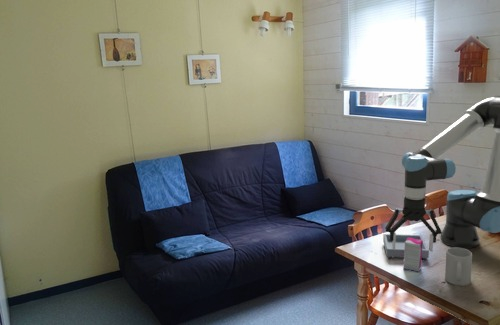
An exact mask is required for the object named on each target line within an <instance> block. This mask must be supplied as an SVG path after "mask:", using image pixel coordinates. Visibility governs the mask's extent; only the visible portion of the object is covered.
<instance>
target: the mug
mask: <svg viewBox="0 0 500 325" xmlns="http://www.w3.org/2000/svg"><path fill="white" fill-rule="evenodd" d="M472 263H473V253H472V252H471V251H470V250H469V249H468V248H460V247H454V246H453V247H450V248H447V249H446V253H445V272H444V279H445V280H446V282H448V283H449V284H452V285H456V286H468V285H470V284H471V282H472V267H473V265H472Z"/></svg>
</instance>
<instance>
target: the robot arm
mask: <svg viewBox="0 0 500 325" xmlns="http://www.w3.org/2000/svg"><path fill="white" fill-rule="evenodd" d="M490 125H493V127H492V129H493V131H494V132H495V137H494V139H493V144H492V148H491V152H490V155H489V158H488V159H489V160H488V164H487V167H486V169H485V170H486V172H485V175H484V178H483V181H482V182H483V183H482V185H481V190H480V191H479V192H477V190H472V189H471V190H470V189H457V190H451V191H449V192H448V193H447V196H446V197H447V198H446V208H445V210H446V211H445V212H446V214H445V224H444V226H443V229H442V230H441V227H440V225H439V223H438V221H437V219H436V218H435V213H434V209H432V208H429V209H426V198H425V197H426V194H427V193H426V191H427V189H426V188H427V181H437V180H446V179H450V178H453V176H455V174H456V169H457V168H456V165H455V162H454V161H453V160H452V159H450V158H441V157H442V156H444V155H445V154H446V153H447V152H449V151H450V150H451V149H452V148H454V147H455V146H457V145H458V144H460V143H461V141H463V140H465V138H467V137H468V136H470V135H471V134H473V133H474V132H475V131H476V130H482V129H483V128H485V127H486V126H490ZM401 164H402V167H403V168H404V189H403V190H404V193H403V196H404V197H403V208H398V207H395V208H394V213H393V214H392V215H391V218H389V220H388V222H387V224H386V226H385V228H384V229H385V232H387V233H389V234H390V240H391V241H393V243H392V248H393V250H395V241H396V231H397V230H398V229H399V228H400V227H402V226H403V225H404V223H406V222H407V221H409V222H420V221H421V223H423V224H424V225H425V227H427V229H428V231H430V233H429V241H428V242H429V243H428V250H429V253H430V252H431V253H432V252H433V250H434V247H433V246H434V244H436V243H437V237H438V235H440V241H441V242H442V243H443V244H445V245H448V246H450V247H453V248H454V247H456V248H463V249H469V248H475V247H477V246H478V245H479V244H480V237H479V234H478V231H477V228H478V229H480V230H481V231H484V232H485V231H486V232H488V233H490V234H491V233H492V234H496V233H500V95H494V96H489V97H487V98H485V99H482V100H480V101H478V102H476V103H475V104H473V105H472V106H471V107H469V108H468V109H467V110H465V111H464V112H463V116H461V117H460V118H459V119H458V120H456V121H455V122H453V123H452V124H450V126H448V127H447V128H446V129H444V130H443V131H441V132H440V133H439V134H437V136H435V137H434V138H433V139H431V140H430V141H428V142H427V143H426V144H425V145H423V146H421V148H419V149H418V150H416V151H415V152H414V151H409V152H406V153H405V154H404V155H403V156H402V159H401ZM401 213H402V214H403V215H402V216H401V218H399V220H398V221H397V222H396V220H397V218H398V216H399V215H401ZM426 214H427V215H428V216H429V217H430V219H431V221H432V222H433V225H434V227H435V229H434V227H432V226H431V225H430V223H429V222H428V221H427V220H426V219H425V217H424V216H425V215H426ZM395 222H396V223H395Z"/></svg>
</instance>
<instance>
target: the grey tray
mask: <svg viewBox="0 0 500 325" xmlns="http://www.w3.org/2000/svg"><path fill="white" fill-rule="evenodd" d="M407 238H414V239H420V240H423V244H422V260H421V261H424V262H425V261H427V259H429V256H430V255H429V254H430V250H429V246H427V243H426V241H425V240H424V237H423V235H422V234H399V233H398V234H396V241H395V250H393V248H392V243H393V241H391V240H390V233H383V238H382V240H383V244H384V245H383V246H384V250H385V254H386V257H387V258H388V260H393V258H404V249H405V242H406V240H407Z"/></svg>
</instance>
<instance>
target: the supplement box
mask: <svg viewBox="0 0 500 325" xmlns="http://www.w3.org/2000/svg"><path fill="white" fill-rule="evenodd" d="M422 244H423V240H420V239H414V238H407V240H406V242H405V249H404V257H403V270H404V271H409V272H415V273H419V271H420V270H421V267H422V261H423V260H422Z"/></svg>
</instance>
